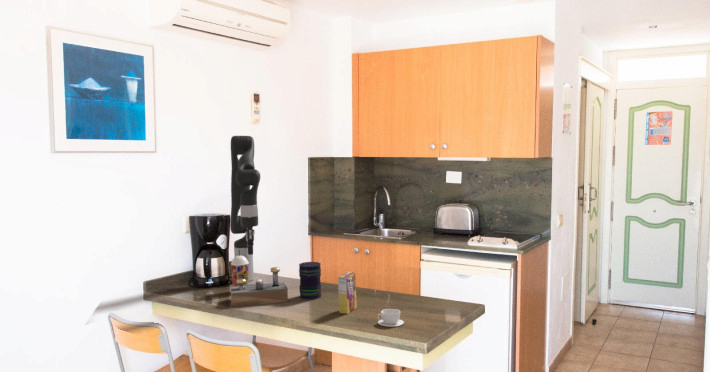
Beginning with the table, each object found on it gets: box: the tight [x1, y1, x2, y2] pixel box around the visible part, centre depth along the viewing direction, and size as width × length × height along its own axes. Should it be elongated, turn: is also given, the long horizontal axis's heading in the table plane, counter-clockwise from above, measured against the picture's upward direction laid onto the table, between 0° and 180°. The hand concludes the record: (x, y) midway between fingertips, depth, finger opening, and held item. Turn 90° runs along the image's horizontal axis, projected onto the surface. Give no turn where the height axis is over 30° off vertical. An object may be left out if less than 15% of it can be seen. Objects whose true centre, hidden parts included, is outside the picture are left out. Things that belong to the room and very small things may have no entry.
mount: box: [230, 281, 289, 307], centre depth 254 cm, size 12×24×6 cm, turn 104°
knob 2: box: [270, 266, 281, 287], centre depth 255 cm, size 4×4×9 cm
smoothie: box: [230, 250, 249, 286], centre depth 269 cm, size 8×8×20 cm
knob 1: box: [237, 279, 246, 290], centre depth 252 cm, size 4×4×9 cm
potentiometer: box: [255, 279, 263, 290], centre depth 250 cm, size 3×3×4 cm
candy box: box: [337, 271, 357, 315], centre depth 236 cm, size 9×4×15 cm, turn 156°
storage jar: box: [298, 261, 322, 301], centre depth 258 cm, size 10×10×15 cm
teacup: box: [377, 308, 405, 328], centre depth 219 cm, size 10×10×5 cm
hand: (250, 254), depth 252 cm, fingers closed
